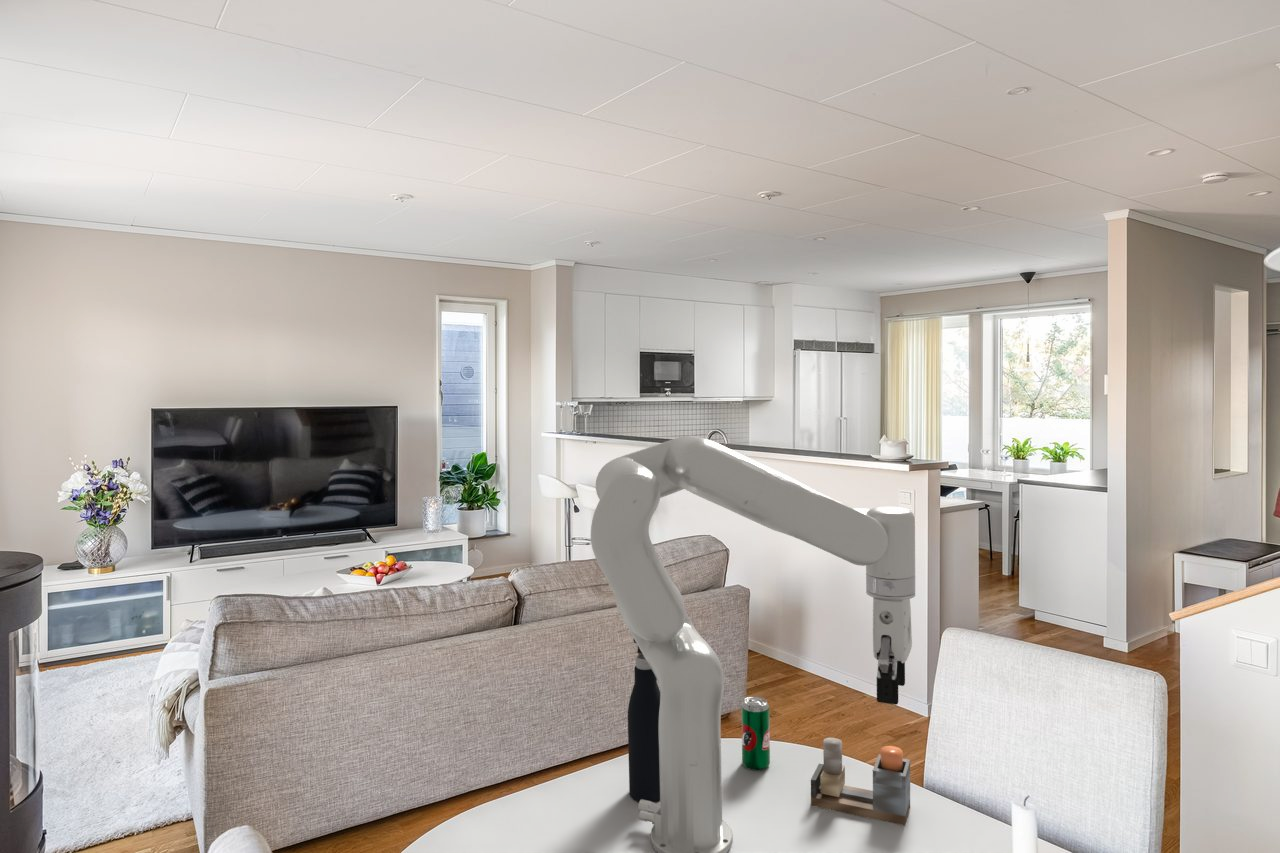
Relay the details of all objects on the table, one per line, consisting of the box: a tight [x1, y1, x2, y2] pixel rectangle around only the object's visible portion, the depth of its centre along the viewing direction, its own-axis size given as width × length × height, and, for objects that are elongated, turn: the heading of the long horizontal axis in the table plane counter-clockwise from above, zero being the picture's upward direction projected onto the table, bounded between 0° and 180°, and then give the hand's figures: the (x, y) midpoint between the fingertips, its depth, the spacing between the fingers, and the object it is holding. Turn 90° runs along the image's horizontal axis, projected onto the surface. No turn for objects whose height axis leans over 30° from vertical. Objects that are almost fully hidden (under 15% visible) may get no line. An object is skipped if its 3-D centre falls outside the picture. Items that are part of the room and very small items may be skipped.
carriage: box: [820, 737, 846, 797], centre depth 135 cm, size 3×5×8 cm, turn 155°
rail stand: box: [810, 753, 911, 827], centre depth 133 cm, size 15×6×8 cm, turn 65°
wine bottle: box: [627, 638, 660, 803], centre depth 138 cm, size 6×6×30 cm
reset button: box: [880, 745, 904, 771], centre depth 130 cm, size 3×3×3 cm
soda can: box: [741, 696, 771, 771], centre depth 147 cm, size 5×5×12 cm
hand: (891, 692), depth 130 cm, fingers open, 7 cm apart
